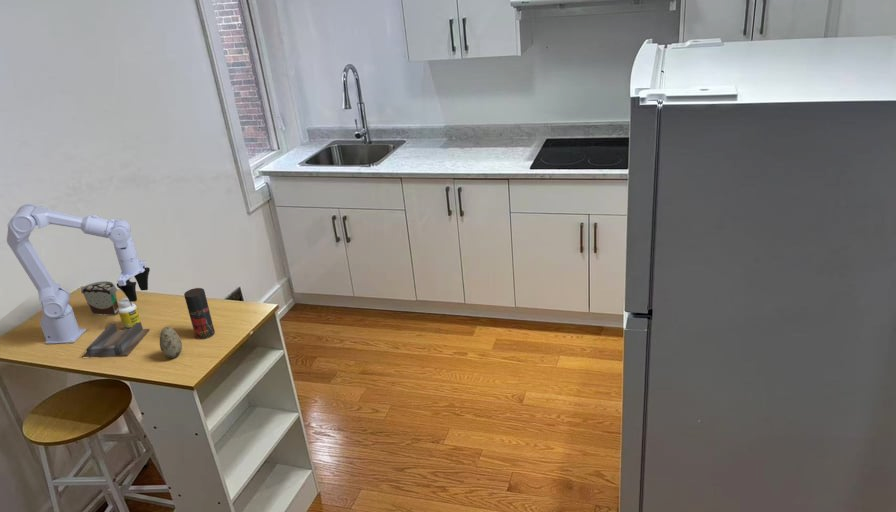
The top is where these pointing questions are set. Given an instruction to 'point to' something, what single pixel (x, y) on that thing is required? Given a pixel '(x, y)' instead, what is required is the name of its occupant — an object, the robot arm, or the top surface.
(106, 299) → the food container
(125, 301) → the supplement bottle
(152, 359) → the top surface
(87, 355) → the bottle rest
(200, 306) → the deodorant
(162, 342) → the decorative egg
